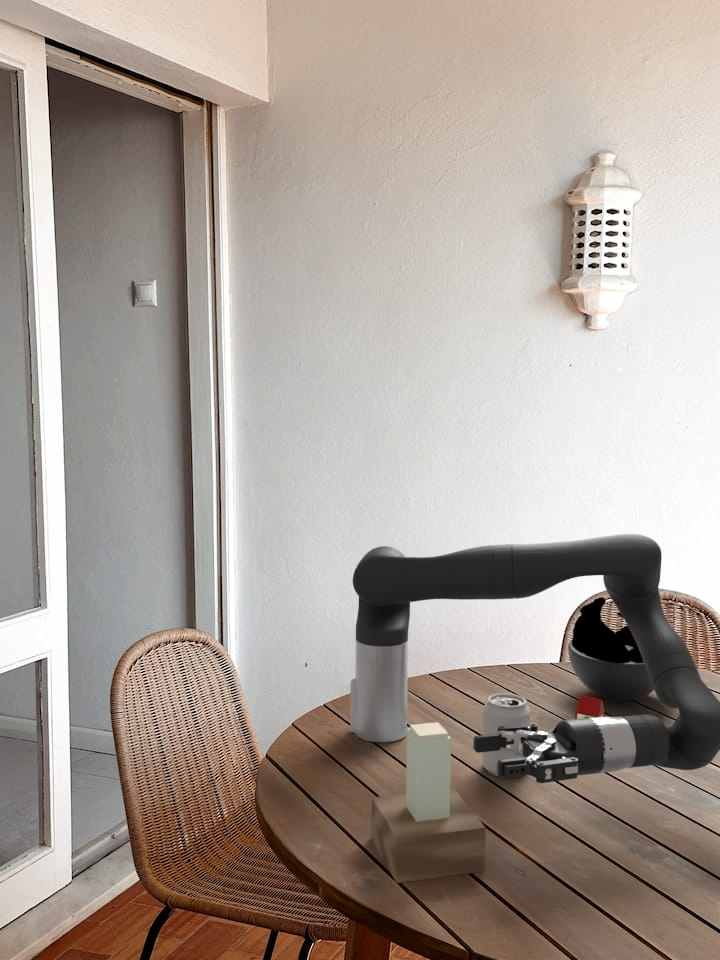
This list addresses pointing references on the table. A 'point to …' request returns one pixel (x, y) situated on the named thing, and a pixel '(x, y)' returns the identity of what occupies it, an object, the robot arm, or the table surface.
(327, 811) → the table surface
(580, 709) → the toy house
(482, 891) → the table surface
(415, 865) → the walnut block
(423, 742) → the sage tin
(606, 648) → the coal bowl
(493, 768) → the can
